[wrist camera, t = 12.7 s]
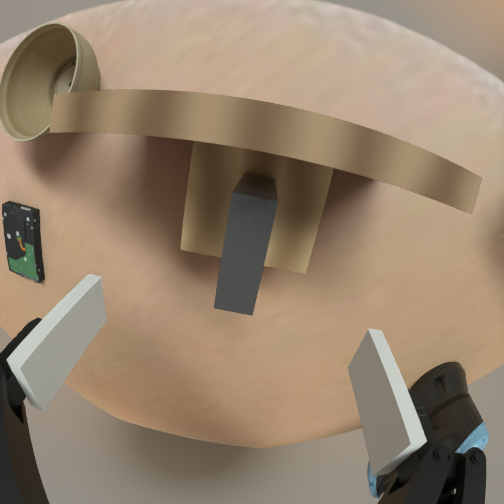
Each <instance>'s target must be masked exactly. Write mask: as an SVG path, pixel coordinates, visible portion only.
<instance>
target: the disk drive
mask: <svg viewBox="0 0 504 504" xmlns="http://www.w3.org/2000/svg"><path fill="white" fill-rule="evenodd" d="M39 212H40V210H39V209H36V208H33V207H29V206H26V205H22V204H19V203H15V202H11V201H8V202H5V203H3V204H2V215H3V226H4V236H5V244H6V252H7V260H8V265H9V270H10V271H12V272H14V273H16V274H18V275H20V276H22V277H24V276H25V277H26V278H29V279H31V280H33V281H36V283H38V282H42V281H43V280H44V279H45V275H44V266H43V259H42V248H41V234H40V213H39Z"/></svg>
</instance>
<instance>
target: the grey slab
mask: <svg viewBox="0 0 504 504" xmlns="http://www.w3.org/2000/svg"><path fill="white" fill-rule="evenodd" d="M277 205H278V196H277V189H276V182H275V178H271V177H266V176H261V175H255V174H250V173H244V174H243V176H242V178H241V179H240V181H239V182H238V184H237V185H236V187H235V189H234V190H233V192H232V196H231V202H230V207H229V213H228V219H227V226H226V232H225V238H224V244H223V250H222V257H221V263H220V270H219V277H218V283H217V290H216V297H215V304H214V308H216V309H221V310H226V311H231V312H236V313H242V314H247V315H253V311H254V306H255V302H256V298H257V293H258V289H259V285H260V280H261V276H262V272H263V267H264V263H265V259H266V254H267V250H268V245H269V241H270V236H271V232H272V227H273V223H274V218H275V214H276V209H277Z"/></svg>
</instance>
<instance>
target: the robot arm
mask: <svg viewBox="0 0 504 504" xmlns="http://www.w3.org/2000/svg"><path fill="white" fill-rule="evenodd" d="M105 322H106V314H105V306H104V297H103V287H102V277H100V276H96V275H93V274H88V275H87V276H86V277H85V278H84V279H83V280H82V281H81V282H80V283H79V284H78V285H77V286H75V287H74V288H73V289H72V290H71V291H70V292H69V293H68V294H67V295H66V296H65V297H64V298H63V299H62V300H61V301H60V302H59V303H58V304H57V305H56V306H55V307H54V308H53V309H52V310H51V311H50V312H49V313H48V314H47V315H46V316H45V317H44V318H43V319H40V318H36V319H34V320H33V321H31V322H29V323H28V324H27V325H26V326H25V327H24V328H23V329H22V331H20V332H19V333H18V334H17V337H15V338H14V339H13V340H12V341H11V342H10V343H9V344H8V345H7V346H6V348H5V349H4V350H3V351H2V352H1V353H0V504H49V501H48V499H47V496H46V493H45V490H44V487H43V484H42V481H41V478H40V474H39V471H38V467H37V464H36V460H35V456H34V452H33V448H32V444H31V439H30V434H29V428H28V423H27V417H26V410H25V405H24V403H23V400H24V399H25V397H27V399H28V401H29V402H30V404H31V405H32V406H34V407H35V408H37V409H39V410H41V411H42V412H45V410H46V409H47V407H48V406H49V404H50V403H51V401H52V399H53V398H54V396H55V395H56V393H57V392H58V390H59V388H60V387H61V385H62V384H63V382H64V381H65V379H66V378H67V376H68V375H69V373H70V372H71V370H72V369H73V367H74V366H75V364H76V363H77V361H78V360H79V359H80V357H81V356H82V354H83V353H84V351H85V350H86V349H87V347H88V346H89V344H90V343H91V342H92V340H93V339H94V337H95V336H96V335H97V333H98V332H99V331H100V329H101V328H102V326H103V325H104V324H105ZM348 371H349V375H350V379H351V382H352V386H353V390H354V394H355V398H356V402H357V407H358V411H359V415H360V419H361V424H362V428H363V432H364V436H365V441H366V446H367V451H368V456H369V463H368V471H367V474H368V482H369V489H370V492H371V494H372V496H373V497H374V498H379V502H378V504H484V503H485V488H486V457H485V454H484V452H483V451H482V450H483V449H484V448H485V447H486V445H487V443H488V441H489V434H488V431H487V429H486V426H485V423H484V422H483V420H482V418H481V416H480V414H479V412H478V410H477V408H476V406H475V404H474V403H473V400H472V399H471V397H470V395H469V393H468V387H467V382H466V375H465V371H464V369H463V368H462V366H461V364H459V363H457V362H448V363H445V364H442V365H440V366H438V367H436V368H434V369H432V370H431V371H429V372H428V373H426V374H425V375H424V376H423V377H421V378H420V379H419V380H418V381H417V382H416V384H415V385H414V386H413V388H412V389H411V390H407V387H406V385H405V382H404V380H403V378H402V375H401V373H400V371H399V368H398V366H397V364H396V362H395V359H394V357H393V355H392V353H391V350H390V348H389V346H388V344H387V342H386V339H385V337H384V335H383V333H382V331H381V330H375V329H368V330H367V332H366V334H365V336H364V338H363V340H362V342H361V344H360V346H359V348H358V350H357V352H356V353H355V355H354V357H353V359H352V361H351V363H350V364H349V366H348ZM455 488H456V494H454V489H455Z"/></svg>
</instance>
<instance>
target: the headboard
mask: <svg viewBox="0 0 504 504" xmlns="http://www.w3.org/2000/svg"><path fill="white" fill-rule="evenodd" d="M62 132H78V133H113V134H131V135H144V136H156V137H166V138H176V139H184V140H192V141H194V143H193V149H192V156H191V162H190V169H189V177H188V184H187V192H186V200H185V209H184V218H183V227H182V237H181V248H180V250H184V251H189V252H194V253H200V254H205V255H210V256H215V257H220V258H221V257H222V250H223V244H224V238H225V232H226V226H227V219H228V213H229V207H230V202H231V196H232V192H233V190H234V189H235V187H236V185H237V184H238V182H239V181H240V179H241V178H242V176H243V174H244V173H250V174H255V175H261V176H266V177H271V178H275V182H276V189H277V196H278V205H277V209H276V214H275V218H274V223H273V227H272V232H271V236H270V241H269V245H268V250H267V254H266V259H265V263H264V266H266V267H271V268H277V269H282V270H287V271H293V272H298V273H303V274H306V270H307V267H308V264H309V260H310V257H311V253H312V250H313V246H314V243H315V239H316V236H317V232H318V228H319V225H320V221H321V217H322V213H323V210H324V206H325V202H326V198H327V194H328V190H329V186H330V182H331V178H332V174H333V170H334V168H336V169H340V170H343V171H347V172H351V173H354V174H358V175H361V176H365V177H368V178H371V179H375V180H378V181H381V182H384V183H387V184H391V185H394V186H397V187H400V188H403V189H406V190H409V191H411V192H414V193H417V194H420V195H423V196H425V197H428V198H431V199H434V200H436V201H439V202H441V203H444V204H447V205H449V206H452V207H454V208H457V209H459V210H461V211H464V212H466V213H469V214H471V215H472V212H473V209H474V206H475V202H476V199H477V195H478V192H479V188H480V184H481V180H482V177H480V176H478V175H476V174H474V173H472V172H471V171H469V170H467V169H465V168H463V167H461V166H459V165H457V164H455V163H453V162H451V161H449V160H447V159H444V158H442V157H440V156H438V155H436V154H433V153H431V152H429V151H427V150H424V149H422V148H420V147H417V146H415V145H412V144H410V143H407V142H405V141H402V140H400V139H397V138H395V137H392V136H389V135H386V134H384V133H381V132H378V131H375V130H372V129H369V128H366V127H363V126H360V125H357V124H354V123H350V122H347V121H344V120H340V119H337V118H333V117H330V116H326V115H322V114H318V113H314V112H310V111H306V110H302V109H298V108H293V107H289V106H284V105H279V104H274V103H269V102H263V101H258V100H252V99H246V98H239V97H232V96H225V95H216V94H207V93H197V92H185V91H169V90H97V91H82V92H71V93H61V94H54V99H53V106H52V114H51V122H50V132H49V133H62Z"/></svg>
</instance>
